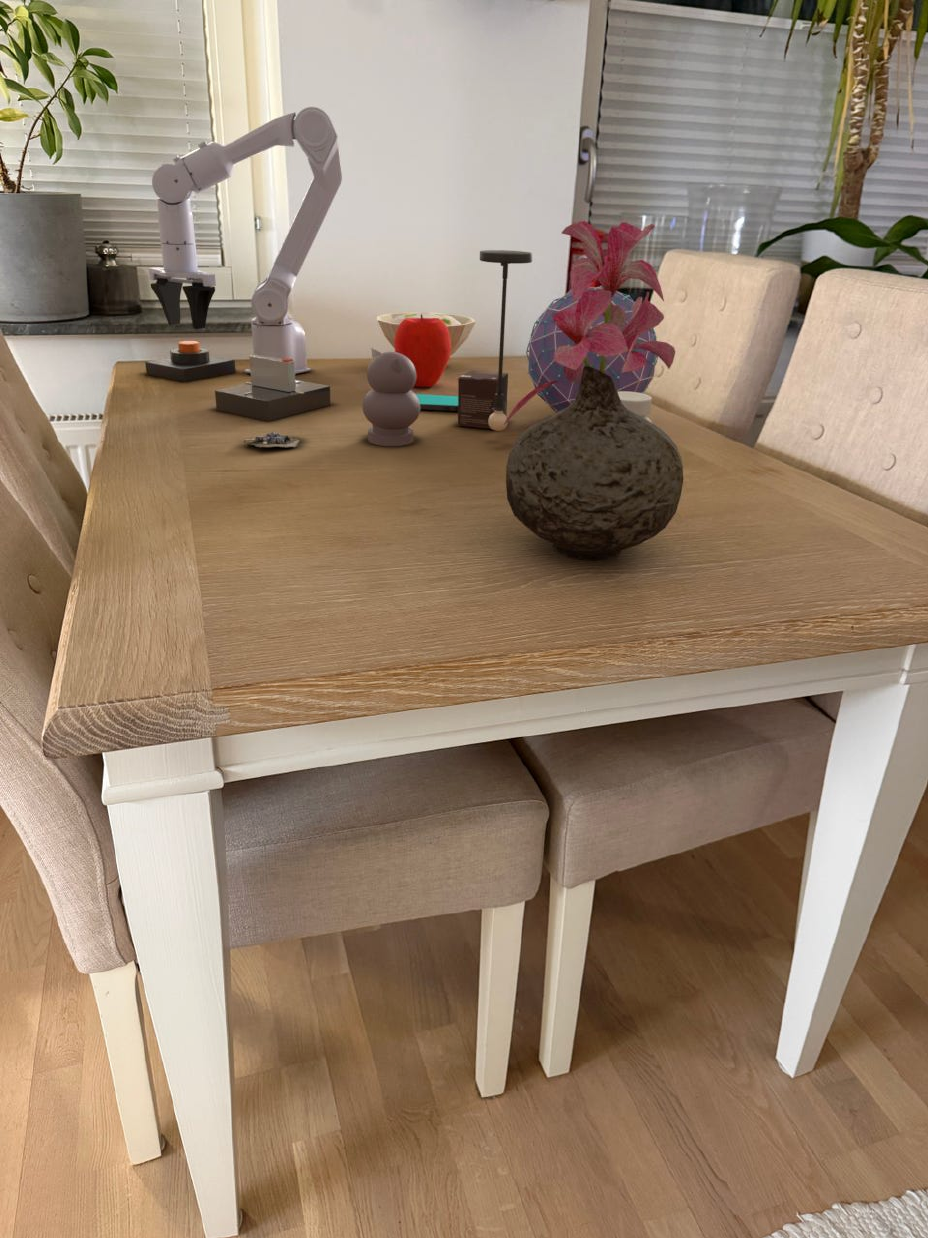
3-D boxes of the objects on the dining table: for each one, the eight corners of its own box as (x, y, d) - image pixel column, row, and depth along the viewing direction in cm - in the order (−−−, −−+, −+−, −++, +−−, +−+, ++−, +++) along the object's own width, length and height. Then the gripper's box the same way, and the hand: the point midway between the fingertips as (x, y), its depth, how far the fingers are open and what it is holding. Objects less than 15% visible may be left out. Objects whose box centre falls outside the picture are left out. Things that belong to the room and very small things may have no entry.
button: (190, 349, 163) (189, 339, 162) (204, 352, 161) (203, 342, 160) (174, 352, 160) (173, 342, 159) (188, 354, 158) (187, 344, 157)
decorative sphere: (610, 388, 120) (532, 272, 123) (550, 464, 138) (483, 360, 141) (709, 349, 129) (634, 241, 132) (641, 424, 147) (576, 328, 150)
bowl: (387, 355, 184) (387, 304, 180) (480, 360, 182) (482, 308, 178) (365, 372, 167) (364, 316, 163) (467, 378, 165) (469, 322, 160)
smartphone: (401, 393, 148) (491, 397, 147) (401, 398, 148) (491, 402, 147) (394, 403, 141) (489, 407, 140) (394, 408, 141) (489, 412, 140)
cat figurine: (431, 444, 123) (432, 355, 118) (380, 451, 120) (379, 359, 114) (401, 430, 130) (401, 345, 124) (352, 436, 126) (350, 348, 121)
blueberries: (233, 445, 120) (232, 431, 119) (280, 434, 125) (279, 421, 125) (265, 455, 116) (264, 441, 115) (312, 444, 122) (311, 430, 121)
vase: (701, 549, 90) (752, 227, 77) (602, 600, 79) (641, 230, 66) (568, 509, 101) (593, 217, 87) (463, 548, 89) (473, 219, 76)
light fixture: (468, 439, 126) (474, 249, 115) (513, 438, 127) (524, 250, 116) (479, 452, 120) (487, 253, 109) (526, 451, 122) (539, 254, 111)
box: (507, 421, 136) (509, 372, 133) (495, 430, 131) (497, 380, 128) (469, 417, 138) (471, 369, 135) (456, 426, 133) (457, 376, 130)
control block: (197, 364, 169) (195, 343, 167) (235, 371, 164) (233, 349, 162) (146, 374, 160) (143, 351, 158) (184, 381, 155) (182, 358, 153)
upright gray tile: (251, 385, 140) (248, 354, 138) (258, 383, 141) (256, 352, 139) (289, 392, 136) (287, 360, 134) (296, 390, 137) (294, 359, 135)
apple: (441, 378, 164) (442, 309, 159) (457, 390, 156) (459, 317, 150) (388, 380, 161) (388, 309, 156) (402, 392, 153) (402, 317, 147)
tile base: (277, 394, 148) (276, 375, 147) (333, 405, 143) (332, 385, 141) (213, 409, 138) (211, 388, 136) (271, 421, 132) (270, 400, 130)
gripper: (130, 241, 153) (141, 324, 159) (189, 246, 146) (197, 333, 152) (163, 240, 158) (172, 320, 164) (221, 245, 151) (228, 328, 157)
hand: (186, 326), depth 158 cm, fingers open, 6 cm apart
